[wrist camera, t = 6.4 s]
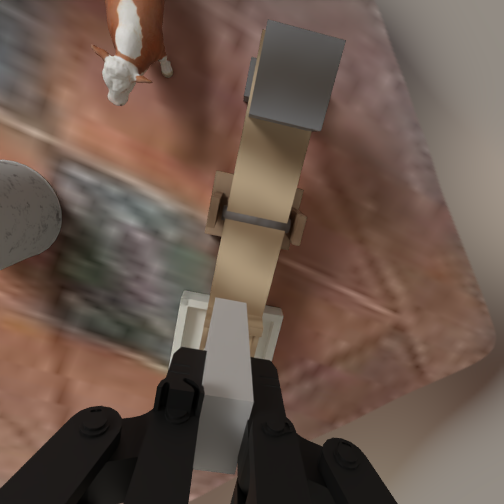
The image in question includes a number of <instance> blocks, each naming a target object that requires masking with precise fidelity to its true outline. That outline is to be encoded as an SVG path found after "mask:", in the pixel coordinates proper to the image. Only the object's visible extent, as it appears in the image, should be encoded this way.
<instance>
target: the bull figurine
mask: <svg viewBox="0 0 504 504" xmlns="http://www.w3.org/2000/svg"><path fill="white" fill-rule="evenodd" d="M105 5H106V14H107V24H108V28H109V31H110V35H111V38H112V41H113V44H114V47H115V50H116V55H115V56H111V55H109V54H108V53H107V52H106V51H105V50H103V49H101V48H98V47H96V46H95V45H91V47H92V49H93V50H94V51H95V53H96V54H98V55H99V56H100V57H101V58H102V59H103V60H104V62H105V64H104V69H103V72H102V75H103V79H104V81H105V83H106V85H107V86H108V88H109V93H108V99H109V101H111V102H112V103H113V104H115V105H117V106H123V105H125V104H126V102H127V101H128V95H129V94H130V92H131V91H132V89H133V88H134V86H135V84H136V82H137V83H153V82H152V81H151V80H148V79H147V78H145V77H144V76H143V74H144V73H145V72H146V70H147V69H148V68H149V67H150V65H151V64H153V63H154V62H156V61H159V62H160V63H161V70H162V74H163V75H164V76H165V77H167V78H170V77H171V76H172V75H173V69H172V67H171V65H170V61H167V55H166V52H165V46H164V41H163V32H162V23H163V10H164V0H105Z"/></svg>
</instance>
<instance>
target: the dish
mask: <svg viewBox="0 0 504 504" xmlns="http://www.w3.org/2000/svg"><path fill="white" fill-rule="evenodd" d="M209 298H210V295H208V294H202V293H197V292H191V291H186V290H184V292H183V294H182V297H181V301H180V307H179V312H178V318H177V324H176V330H175V335H174V341H173V347H172V352H171V358H170V364H171V360H172V357H173V354H174V353H175V352H176V351H177V350H178V349H179V348H180V347H187V348H193V349H199V348H200V342H201V337H202V332H203V327H204V322H205V317H206V312H207V308H208V303H209ZM262 319H263V333H262V337H259V341H258V344H257V348H256V352H255V356H254V358H260V359H266V360H270V361H271V362H272V358H273V354H274V350H275V347H276V343H277V339H278V335H279V331H280V328H281V324H282V320H283V313H282V310H281V308H277V307H272V306H267V305H265V309H264V312H263V316H262ZM204 350H205V348H204ZM170 364H169V367H170ZM168 370H169V369H168Z"/></svg>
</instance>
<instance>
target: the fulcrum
mask: <svg viewBox="0 0 504 504" xmlns="http://www.w3.org/2000/svg"><path fill="white" fill-rule="evenodd" d="M233 177H234V174H231V173H226V172H222V171H216V175H215V180H214V185H213V191H212V196H211V202H210V207H209V212H208V218H207V223H206V229H205V233H206V234H211V235H216V236H221V237H222V232H223V227H224V222H225V220H221V218H222V213H223V208H224V205H225V206H228V202H229V197H230V192H231V187H232V182H233ZM303 191H304V190H302V189H298V188H297V189H296V192H295V196H294V200H293V204H292V207H291V211H290V215H289V219H291V226H290V230H289V232H288V234H287V233H285V234H284V237H283V241H282V245H281V249H285V250H289V246H290V242H291V243H292V245H297V246H300V242H301V238H302V235H303V231H304V227H305V223H306V219H307V217H306V216H305V215H304V214H302V213H301V212H300V211H299V207H300V203H301V199H302V195H303Z"/></svg>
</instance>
